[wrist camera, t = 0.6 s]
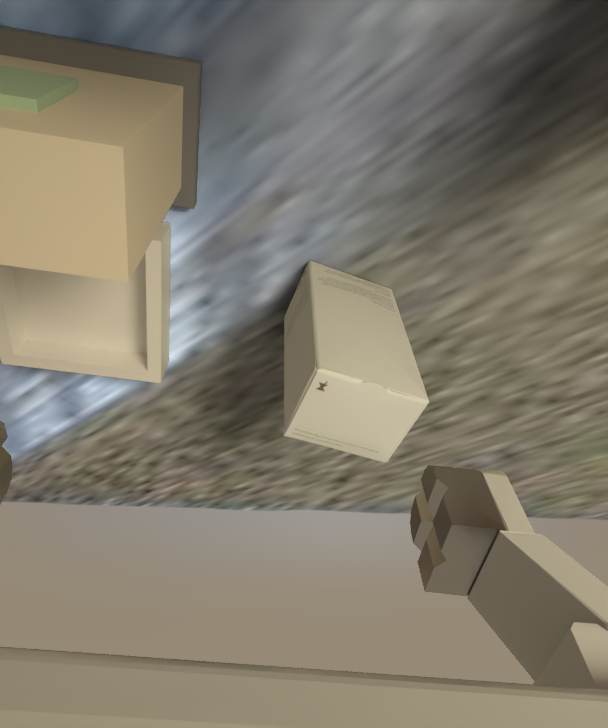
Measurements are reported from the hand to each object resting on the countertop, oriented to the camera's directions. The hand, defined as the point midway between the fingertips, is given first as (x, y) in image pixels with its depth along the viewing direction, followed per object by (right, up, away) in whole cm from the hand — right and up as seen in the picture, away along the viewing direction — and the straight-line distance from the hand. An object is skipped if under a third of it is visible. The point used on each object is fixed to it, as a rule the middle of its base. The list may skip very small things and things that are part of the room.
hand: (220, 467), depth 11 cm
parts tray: (-17, +9, +37) cm, 41 cm away
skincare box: (+5, +8, +38) cm, 39 cm away
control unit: (-15, +20, +28) cm, 38 cm away
